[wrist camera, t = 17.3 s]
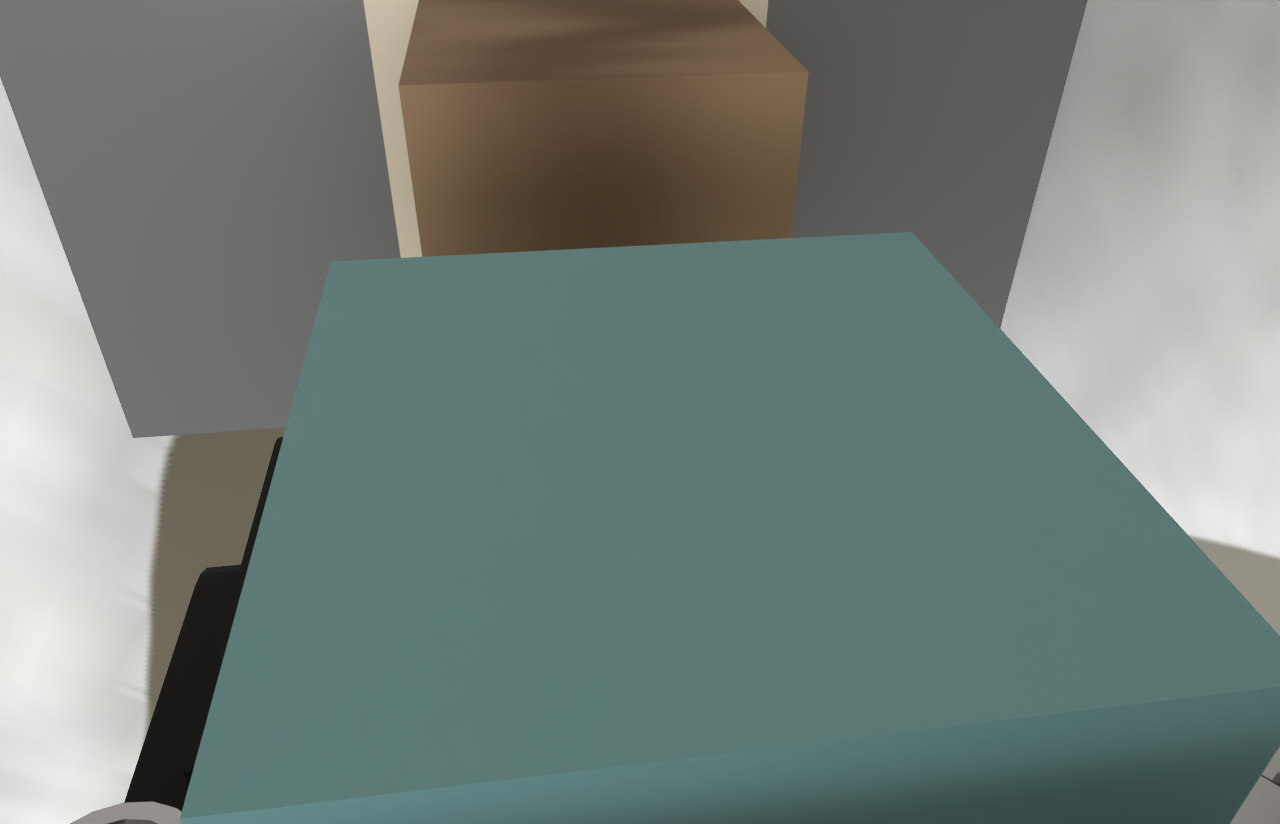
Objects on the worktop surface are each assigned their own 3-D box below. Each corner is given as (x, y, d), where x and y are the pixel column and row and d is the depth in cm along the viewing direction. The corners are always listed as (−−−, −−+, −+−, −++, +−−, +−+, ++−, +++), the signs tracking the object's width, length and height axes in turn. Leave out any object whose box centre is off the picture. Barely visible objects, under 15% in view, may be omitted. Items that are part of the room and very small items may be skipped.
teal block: (911, 231, 10) (1322, 681, 5) (837, 622, 14) (1042, 1112, 9) (330, 261, 9) (178, 818, 4) (408, 667, 13) (370, 1231, 8)
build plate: (1109, -247, 19) (1154, -246, 18) (963, 351, 27) (986, 382, 26) (-81, -266, 16) (-128, -265, 15) (150, 403, 24) (132, 439, 23)
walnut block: (725, -13, 19) (808, 72, 14) (710, 259, 22) (774, 402, 18) (420, -7, 18) (398, 85, 13) (453, 273, 22) (446, 427, 17)
